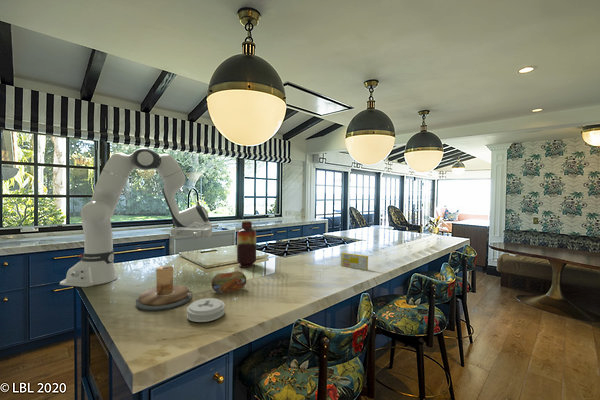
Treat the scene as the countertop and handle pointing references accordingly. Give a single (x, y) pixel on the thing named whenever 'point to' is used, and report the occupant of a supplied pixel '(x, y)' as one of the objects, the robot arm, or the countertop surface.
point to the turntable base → (162, 307)
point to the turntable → (164, 296)
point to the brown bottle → (246, 245)
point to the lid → (205, 310)
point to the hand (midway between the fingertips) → (185, 234)
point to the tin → (228, 282)
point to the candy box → (354, 261)
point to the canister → (164, 280)
